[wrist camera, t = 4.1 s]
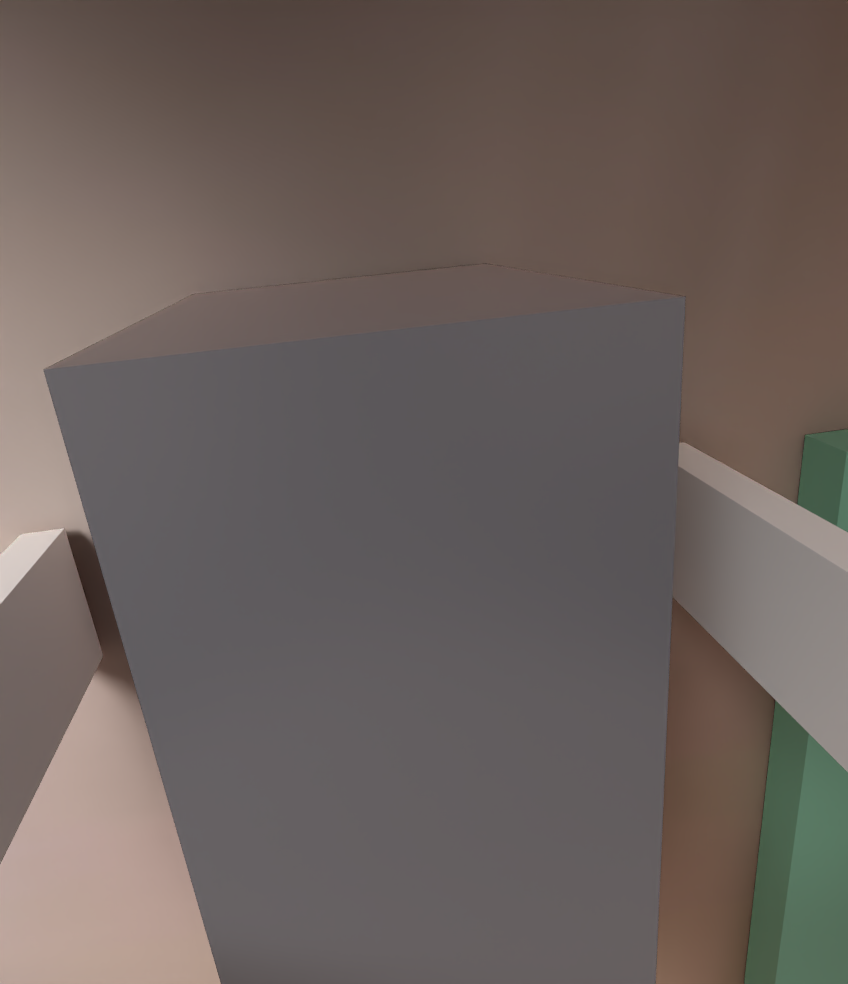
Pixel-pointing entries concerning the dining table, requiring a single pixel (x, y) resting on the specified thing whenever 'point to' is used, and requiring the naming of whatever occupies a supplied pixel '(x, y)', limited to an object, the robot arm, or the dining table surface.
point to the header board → (804, 805)
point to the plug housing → (399, 613)
